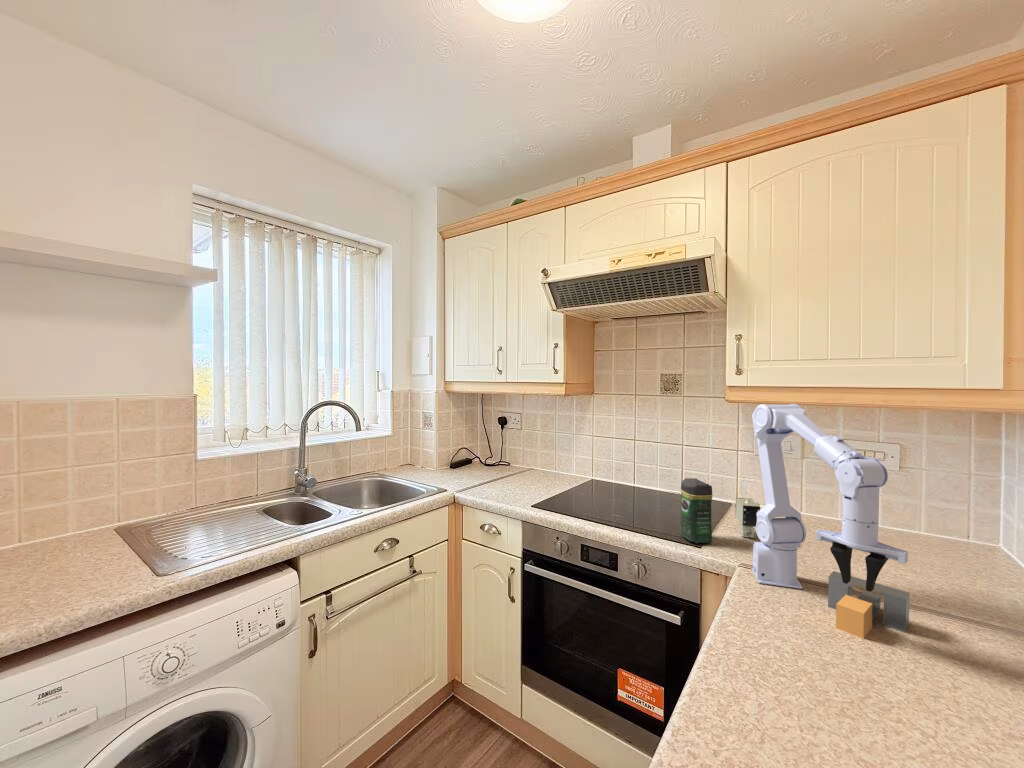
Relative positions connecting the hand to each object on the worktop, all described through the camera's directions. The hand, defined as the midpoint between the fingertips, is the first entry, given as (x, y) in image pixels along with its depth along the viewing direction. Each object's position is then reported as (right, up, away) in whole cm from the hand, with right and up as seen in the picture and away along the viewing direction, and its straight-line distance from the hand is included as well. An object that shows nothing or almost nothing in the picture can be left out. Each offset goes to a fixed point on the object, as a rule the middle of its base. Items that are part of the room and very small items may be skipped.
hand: (858, 585), depth 88 cm
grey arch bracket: (+7, -9, +6) cm, 13 cm away
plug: (+4, -9, +5) cm, 11 cm away
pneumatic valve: (+6, -8, +51) cm, 52 cm away
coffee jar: (-12, -8, +49) cm, 51 cm away
